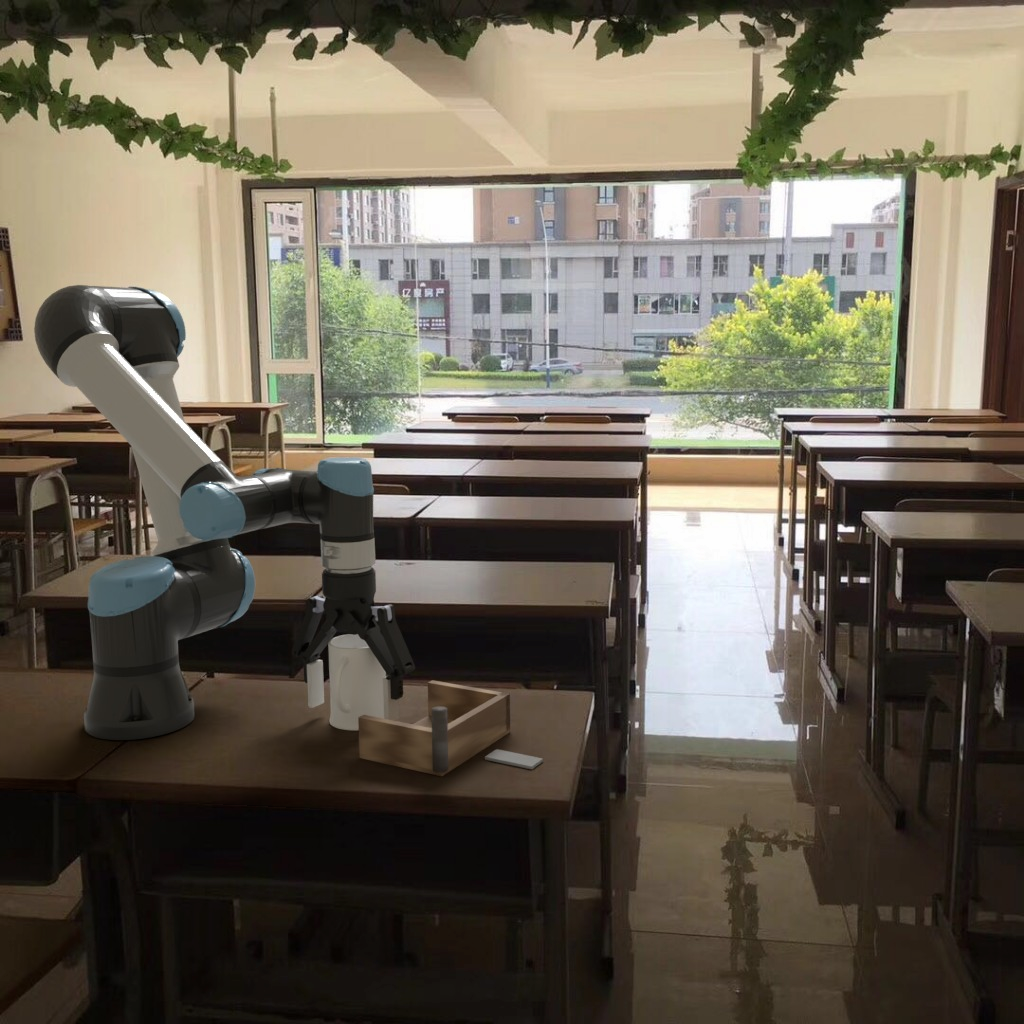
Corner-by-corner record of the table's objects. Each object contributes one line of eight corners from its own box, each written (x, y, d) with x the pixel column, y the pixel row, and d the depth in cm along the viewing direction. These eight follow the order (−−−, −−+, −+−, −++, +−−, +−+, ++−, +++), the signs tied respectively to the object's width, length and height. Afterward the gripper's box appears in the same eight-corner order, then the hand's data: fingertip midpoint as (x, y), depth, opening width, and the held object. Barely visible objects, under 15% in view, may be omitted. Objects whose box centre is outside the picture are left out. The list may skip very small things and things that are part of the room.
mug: (360, 742, 148) (358, 658, 146) (306, 734, 151) (303, 652, 149) (398, 714, 159) (396, 635, 157) (347, 707, 162) (344, 630, 160)
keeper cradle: (357, 758, 142) (355, 696, 141) (433, 717, 158) (431, 660, 156) (442, 778, 136) (441, 712, 134) (512, 732, 151) (512, 673, 150)
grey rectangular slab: (485, 759, 141) (485, 756, 141) (496, 751, 144) (496, 749, 144) (531, 769, 138) (531, 766, 138) (542, 761, 141) (542, 758, 141)
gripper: (262, 564, 154) (269, 706, 158) (406, 582, 142) (410, 735, 145) (297, 555, 161) (303, 691, 164) (437, 571, 148) (440, 718, 152)
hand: (353, 712), depth 155 cm, fingers open, 13 cm apart
